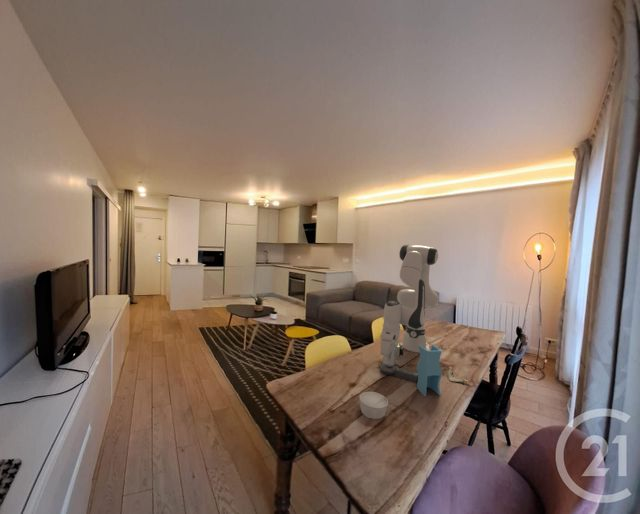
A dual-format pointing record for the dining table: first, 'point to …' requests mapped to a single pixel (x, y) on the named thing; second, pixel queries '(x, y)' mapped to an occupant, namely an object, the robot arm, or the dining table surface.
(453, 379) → the jawbone
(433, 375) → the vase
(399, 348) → the pneumatic valve
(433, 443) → the dining table surface
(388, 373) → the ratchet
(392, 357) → the beige rectangular block
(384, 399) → the ramekin
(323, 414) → the dining table surface
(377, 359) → the dining table surface
